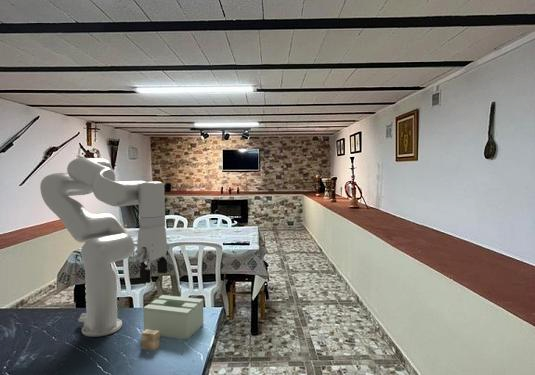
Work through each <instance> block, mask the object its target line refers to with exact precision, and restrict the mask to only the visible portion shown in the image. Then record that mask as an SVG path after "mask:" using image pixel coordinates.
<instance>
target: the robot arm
mask: <svg viewBox="0 0 535 375" xmlns="http://www.w3.org/2000/svg"><path fill="white" fill-rule="evenodd" d="M39 188H40V189H39V190H40V194H41V198H42V200H43V202H44V204H45V205H46V206H47V207H48V209H49V210H50V211H51V212H53V214H55V215H56V216H57V218H59V220H60V221H61V223H62V224H63V225H64V227H65V228H66V230H67V231H68V232H69V234H70V235H71V237H72V238H73V239H74V240H75V241H76V242H78V243H81V244H82V243H84V244H83V245H82V247H81V252H80V253H81V258H82V263H83V268H84V278H85V279H84V280H85V302H86V303H85V305H86V307H85V308H86V310H85V311H86V312H82V313H81V314H80V316H79V317H78V319H77V321H78V322H80V323H81V322H82V323H83V325H82V327H81V333H82V335H84V336H85V337H97V338H98V337H104V336H108V335H111V334H113V333H116V332H118V331H119V330H120V329H121V328H122V327H123V321H122V320H121V319H120V318H118V291H117V290H118V289H117V284H118V283H117V275H116V272H115V270H114V269H113V267H112V266H111V264H113V263H115V262H120V261H123V260H126V259H128V258H130V257H131V256H132V255H133V253H134V252H135V243H134V240H133V238H132V236H131V234H130V233H129V232H128V231H127V229H126V228H125V227H124V226H123V225H122V224H121V222H120V221H119V220H118V219H117V217H115V216H114V215H113V214H111V213H108V212H100V213H90V212H89V211H88V210H87V209H86V208H85V206H84V205H83V204H82V203H81V202H80V201H78V200H76V199H74V198H72V197H73V196H74V197H75V196H86V195H90V194H92V193H93V196H94V197H95V198H96V199H97V200H98V201H100V202H101V203H104V204H106V205H109V206H112V207H117V208H118V207H126V206H127V207H128V206H135V205H138V220H139V221H138V222H139V228H138V233H137V241H136V242H137V243H136V244H137V245H136V246H137V247H136V255H135V257H134V258H135V262H136V266H137V268H138V271H139V282H140V283H141V284H143V283H145V284H150V283H151V282H152V278H151V276H152V274H151V268H150V267H151V264H152V262H154V261H156V260H157V261H156V262H157V263H156V265H157V273H158V274H167V273H168V259H169V257H168V256H169V248H170V244H168V240H167V232H166V204H165V203H166V202H165V200H166V199H165V185H164V183H163V182H162V181H144V180H128V181H127V180H125V181H124V180H123V181H116V174H115V172H114V169H113V166H112V164H111V162H109V161H108V160H107V159H104V158H101V157H100V158H99V157H78V158H75V159H73V160H71V161H70V162H68V165H67V168H66V172H55V173H51V174H48V175H46V176H44V177H43V179H42V180H41V182H40V185H39Z"/></svg>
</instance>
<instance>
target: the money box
mask: <svg viewBox="0 0 535 375" xmlns="http://www.w3.org/2000/svg"><path fill="white" fill-rule="evenodd" d="M142 311H143V331H145V330H146V329H149V330H157V331H159V337H162V338H170V339H175V340H176V339H177V340H184V341H189V339H190V338H191V337H192V336H193V335H195V333H197V331H198V330H199V329H200V328H201V327H203V325H204V298H195V297H189V296H188V297H186V296H177V295H166V294H162V295H160V296H159V297H158V298H157V299H154V300H153V301H151V302H150V303H149V304H147V305H145V306H144V307H143V310H142Z"/></svg>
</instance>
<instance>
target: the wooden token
mask: <svg viewBox="0 0 535 375" xmlns="http://www.w3.org/2000/svg"><path fill="white" fill-rule="evenodd" d="M159 347H160V336H159V331H157V330H149V329H146V330H145V331H144V330H143V331H142V332H141V349H143V350H149V351H157V349H159Z"/></svg>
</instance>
